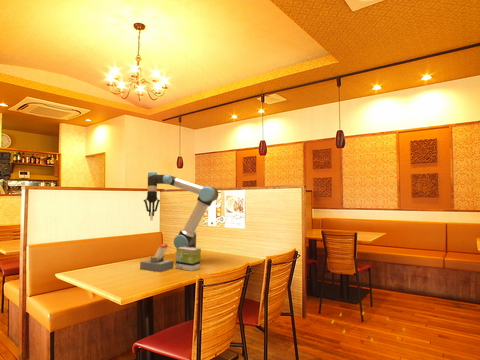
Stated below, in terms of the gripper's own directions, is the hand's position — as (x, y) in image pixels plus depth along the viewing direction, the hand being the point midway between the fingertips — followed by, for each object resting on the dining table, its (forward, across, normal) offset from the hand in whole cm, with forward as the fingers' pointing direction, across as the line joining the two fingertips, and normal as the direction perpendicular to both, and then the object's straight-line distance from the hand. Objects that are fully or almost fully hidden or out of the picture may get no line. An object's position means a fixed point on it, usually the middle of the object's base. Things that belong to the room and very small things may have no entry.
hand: (151, 220), depth 245 cm
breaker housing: (+32, -10, +28) cm, 44 cm away
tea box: (+33, -32, +28) cm, 54 cm away
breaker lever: (+26, -10, +28) cm, 39 cm away
